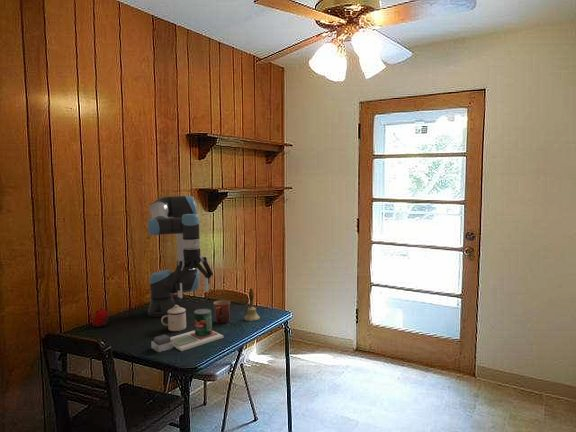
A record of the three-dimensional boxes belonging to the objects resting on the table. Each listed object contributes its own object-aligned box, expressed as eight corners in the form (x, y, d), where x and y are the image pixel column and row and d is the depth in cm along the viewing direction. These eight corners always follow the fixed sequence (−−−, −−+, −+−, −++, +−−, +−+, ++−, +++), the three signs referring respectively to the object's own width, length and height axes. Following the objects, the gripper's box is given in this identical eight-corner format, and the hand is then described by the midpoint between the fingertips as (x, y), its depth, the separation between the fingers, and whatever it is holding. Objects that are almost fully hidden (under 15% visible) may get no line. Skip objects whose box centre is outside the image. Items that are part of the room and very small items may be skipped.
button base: (151, 348, 180) (151, 341, 180) (166, 343, 185) (166, 337, 185) (158, 352, 175) (158, 345, 175) (174, 348, 180) (173, 341, 179)
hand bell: (244, 316, 221) (243, 287, 220) (259, 315, 222) (258, 286, 220) (243, 321, 213) (242, 291, 211) (259, 320, 213) (259, 290, 212)
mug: (217, 318, 218) (216, 299, 217) (233, 319, 216) (232, 300, 215) (208, 326, 206) (208, 306, 206) (225, 327, 205) (224, 307, 204)
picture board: (163, 341, 188) (163, 339, 188) (204, 329, 202) (204, 327, 202) (181, 351, 176) (181, 348, 176) (223, 337, 191) (223, 335, 191)
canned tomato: (213, 330, 197) (212, 308, 196) (210, 336, 189) (209, 313, 188) (196, 331, 196) (195, 308, 196) (193, 337, 189) (192, 313, 188)
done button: (154, 344, 180) (154, 337, 180) (165, 341, 183) (164, 334, 183) (159, 347, 176) (159, 340, 176) (170, 344, 180) (170, 337, 179)
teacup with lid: (185, 324, 211) (184, 301, 210) (188, 329, 203) (187, 306, 202) (160, 327, 206) (159, 305, 205) (163, 333, 198) (161, 309, 197)
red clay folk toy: (101, 323, 216) (99, 294, 215) (112, 324, 214) (110, 295, 213) (90, 327, 209) (88, 298, 208) (101, 329, 207) (99, 299, 205)
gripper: (170, 252, 175) (172, 301, 177) (219, 245, 193) (221, 290, 194) (162, 250, 181) (164, 298, 182) (210, 244, 198) (211, 287, 200)
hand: (193, 294), depth 188 cm, fingers open, 13 cm apart
